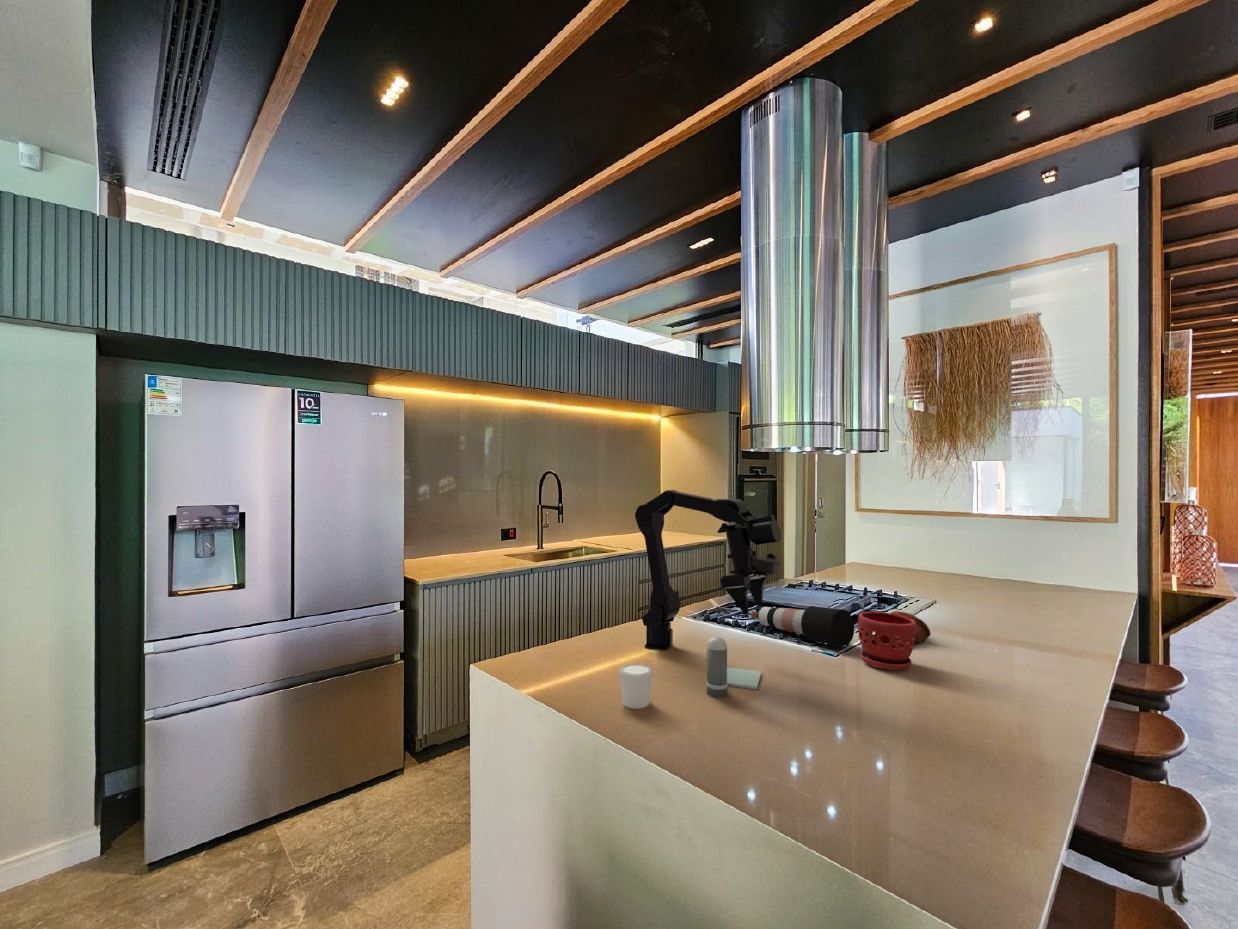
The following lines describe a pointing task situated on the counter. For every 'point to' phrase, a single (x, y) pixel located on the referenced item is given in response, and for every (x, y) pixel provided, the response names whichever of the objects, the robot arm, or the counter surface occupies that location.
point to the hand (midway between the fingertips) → (753, 610)
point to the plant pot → (886, 639)
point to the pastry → (921, 627)
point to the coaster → (743, 678)
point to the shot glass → (635, 685)
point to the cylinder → (716, 667)
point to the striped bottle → (811, 623)
